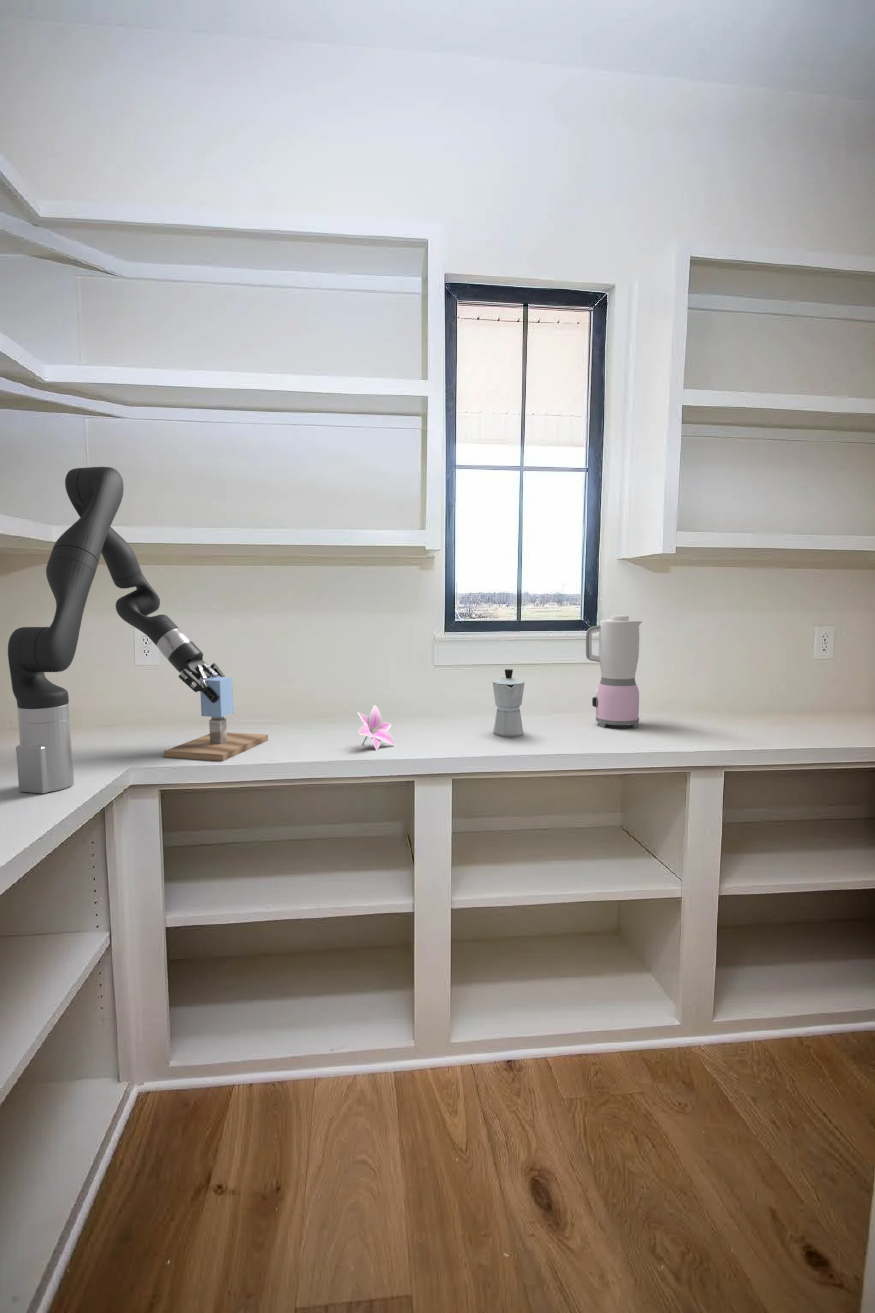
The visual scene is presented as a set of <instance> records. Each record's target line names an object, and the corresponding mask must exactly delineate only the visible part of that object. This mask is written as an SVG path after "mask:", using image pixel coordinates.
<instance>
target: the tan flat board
mask: <svg viewBox="0 0 875 1313" xmlns="http://www.w3.org/2000/svg"><path fill="white" fill-rule="evenodd" d="M208 721H209V722H208V724H209V733H208V734H205V735H203V736H200V737H197V738H194V739H192V740H190V741H187V742H184V743H182V744H178V745H176V746H173V747H171V748H169V749H166V750H164V752H163V754H164V758H174V759H175V758H176V759H188V760H189V759H191V760H201V761H202V760H204V761H205V760H206V761H217V762H224V761H226V760H228V759H231V758H232V757H235V756H237V755H240V754H241V753H244V752H246V751H248V750H250V749H252V748H254V747H256V746H259V745H261V744H263V743H266V742H268V741H269V734H262V733H261V734H260V733H242V732H228V730H227V728H228V725H227V718H226V717H225V716H223V717H211V719H209V720H208Z"/></svg>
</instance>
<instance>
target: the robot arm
mask: <svg viewBox="0 0 875 1313" xmlns="http://www.w3.org/2000/svg"><path fill="white" fill-rule="evenodd" d="M64 488H65V491H66V494H67V496H68V499H69V501H70V503H71V504H72V506H73V508H74V511H76V513H77V515H78V516H79V518H78V520H76V521H75V522H74V523H73V524H72V525H71V526H69V527H68V528H67V529H66V530H65V531H64V532H63V533H62V534H61V535H60V536H59V538H58V539H57V540H56V541H55V542H54V545H53V547H52V549H51V552H50V554H49V557H48V558H49V559H48V560H47V563H46V564H47V565H46V567H45V574H46V579H47V582H48V585H49V588H50V590H51V592H52V594H53V597H54V600H55V604H56V605H55V606H56V607H55V613H54V617H53V620H52V622H51V624H50V625H49V626H23V627H18V628H16V629H15V630H13V632H11V635H10V636H9V639H8V644H7V659H8V667H9V668H8V669H9V673H10V674H9V675H10V681H11V682H10V683H11V689H12V694H13V696H14V697H15V700H16V703H17V704H16V706H17V721H18V724H17V725H18V734H19V735H18V737H19V744H18V745H17V744H16V746H15V753H16V766H17V779H18V780H17V781H18V792H21V793H31V794H46V793H49V792H55V791H61V790H64V789H67V788H69V787H72V786H73V785H74V784H75V779H74V778H75V777H74V764H73V763H74V760H73V748H72V747H73V745H72V729H71V717H70V716H71V715H70V703H69V702H70V700H69V692H68V690H67V689H66V688H64V687H61V686H59V685H56V684H55V683H53V682H51V681H50V680H49V679H48V678H47V677H46V674H45V673H61V672H64V671H66V670H67V669H69V667H70V666H71V664H72V663H73V662H74V657H75V655H76V652H77V645H78V642H79V638H80V636H79V635H80V631H81V630H80V629H81V626H82V620H83V616H84V612H85V607H86V604H87V600H88V597H89V593H90V591H91V587H92V584H93V582H94V579H95V575H96V572H97V569H98V566H99V562H100V558H101V556H102V557H103V560H104V563H105V565H106V567H107V569H108V572H109V574H110V577H111V580H112V582H113V584H114V585H115V587H117V588H118V589H130V588H136V589H134V590H133V591H131V592H129V593H127V594H125V595H123V596H121V597H119V598H118V599H117V600H116V602H115V610H116V613H117V615H118V616H119V617H120V618H121V619H122V620H123V621H124V622H126V623H127V624H128V625H131V626H132V627H133V628H135V629H137V630H138V631H140V632H141V633H143V634H144V635H145V636H147V637H148V638H149V639H150V640H151V642H152V643H154V645H155V646H156V647H157V648H158V650H159V651H160V653H161V654H162V656H164V657H165V659H166V660H167V661H168V662H169V664H171V665H172V666H173V668H174V669H175V670H176V671H177V672H178V673H180V674H179V675H178V678H179V679H180V680H181V681H182V682H183V683H184V684H185V685H186V686H188V687H189V688H190V689H191V690H192V691H193V692H195V693H198V692H201V693H204V694H205V695H206V696H207V698H208V699H209V700H210V701H211V702H212V703H215V702H216V701H217V700H218V699H219V696H218V695H217V694H216V693H215V692H214V690H213V689H212V688H211V687H209V685H208V683H207V682H206V681H205V680H207V678H210V677H226V675H225V674H224V673H223V671H222V670H221V669H220V667H219V666H218V665H217V663H215V662H212V664H210V665H209V664H208V663H207V662H205V661H204V659H203V657H204V653H203V652H202V650H201V649H200V648H199V647H198V646H197V645H196V644H195V643H194V642H193V641H192V639H190V637H189V636H188V635H187V634H186V633H184V631H182V630H181V628H179V627H178V625H176V624H175V622H174V621H173V620H172V619H171V618H170V617H169V616H168V615H166V614H157V615H153V616H149V615H151V614H153V613H156V611H158V610H159V608H160V607H161V606H160V605H161V599H160V597H159V595H158V593H157V592H156V590H155V589H154V588H153V587H152V586H151V585H150V583H149V582H148V580H147V578H146V577H145V576H144V574H143V572H142V569H141V567H140V564H139V562H138V559H137V555H136V554H135V552H134V550H133V548H132V547H131V545H130V544H129V543H128V542H127V541H126V540H125V539H124V538H123V537H122V536H121V535H120V534H119V533H118V532H117V531H116V530H115V529H114V528H113V527H112V526H111V525H112V524H113V521H114V519H115V517H116V515H117V512H118V511H119V508H120V506H121V503H122V500H123V496H124V490H125V489H124V480H123V477H122V475H121V473H120V472H119V471H118V470H117V469H116V468H113V467H110V466H91V467H90V466H89V467H77V468H76V467H75V468H72V469H70V470H69V471H68V472H67V474H66V476H65V479H64ZM202 683H203V684H202ZM201 693H200V694H201Z"/></svg>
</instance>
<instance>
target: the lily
mask: <svg viewBox="0 0 875 1313" xmlns="http://www.w3.org/2000/svg"><path fill="white" fill-rule="evenodd" d="M356 713H357V715H358V717H359V718H360V720H361V721H362V723H363V725H362V726H361V727H360V728H359V729H358V731H357V734H358V735H361V736H365V738H364V740H363V742H362V745H364V744H365V742H366V740H367V738H370V739H371V741H372V744H373V747H374V749H375V751H378V750H379V749H380V746H381V742H384V743H385V744H386V743H387V744H389V745H391V746H393V747H396V746H397V744H396V741H395V739H394V738H393V736H392V734H391V733H390V732H389V730H390V729H391V727H392V724H391V723H390V722H387V721H383V718H382V715H381V712H380V710H379V708H378V707H377V705H375V704H374V705H373V707H372V709H371V712H370V713H369V716H368V715H366V714H364V713H362V712H360V711H358V712H356Z"/></svg>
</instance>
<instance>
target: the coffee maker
mask: <svg viewBox="0 0 875 1313" xmlns="http://www.w3.org/2000/svg"><path fill="white" fill-rule="evenodd" d="M513 672H514V669H511V668H509V669H508V668H507V669H504V675H505V677H502V678H501V679H497V680H494V681H492V687H493V688H492V689H493V695H494V702H495V706H496V707H497V708H496V710H495V711H496V712H495V719H494V725H493V731H492V732H493V735H494V736H499V737H503V738H509V737H510V738H512V737H513V738H516V737H519V736H523V735H524V728H523V721H522V715H521V709H520V706H521V705H522V702H523V695H524V689H525V683H526V682H525V681H523V680H519V679H516V678H513Z"/></svg>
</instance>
